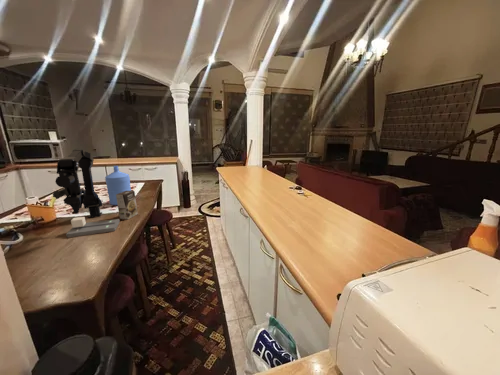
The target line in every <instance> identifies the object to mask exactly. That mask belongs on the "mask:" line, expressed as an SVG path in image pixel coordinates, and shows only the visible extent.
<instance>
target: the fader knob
mask: <svg viewBox="0 0 500 375" xmlns="http://www.w3.org/2000/svg"><path fill="white" fill-rule="evenodd" d="M70 223H71V229H72V228H73V227H78V228H79V227H81V226H84V225H85V224H86V223H87V222H86V217H85V216H79V217H73V218H72V219H71V220H70Z"/></svg>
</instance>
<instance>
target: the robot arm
mask: <svg viewBox="0 0 500 375" xmlns="http://www.w3.org/2000/svg"><path fill="white" fill-rule="evenodd" d="M93 165H94V155H93V154H91V152H87V151H86V150H85V149H82V148H80V149H78V148H77V149H73V150H72V151H71V153H69V155H68V156H67V157H62V158H60V159H59V160H58V161H57V163H56V166H57V167H56V174H57V175H58V176H57V177H56V179H55V184H56V185H57V186H58V187H60V188H61V189H59V190H58V189H57V190H54V191H53V193H52V197H53V198H55V199H56V200H58V199H60V198H62V197H65V198H64V199H63V203H64V204H65V205H68V206H70V207H71V209H72V211H73V212H74V213H75V214H76V215H77V214H79V212H80V209H82V207H83V208H84V209H87V210H88V213H89V215H88V217H87V218H89V219H91V218H97V217H101V216H102V214H103V212H102V211H101V210H100V208H101V207H102V206H103V201H102V200H101V199H100V197H99V195H98V193H96V191H95V187H94V180H93V174H92V173H93V172H92V167H93ZM79 168H80V169H81V174H82V180H83V185H84V188H81V186H82V183H80V180H79V175H78V171H79Z"/></svg>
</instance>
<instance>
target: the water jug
mask: <svg viewBox="0 0 500 375" xmlns="http://www.w3.org/2000/svg"><path fill="white" fill-rule="evenodd" d="M104 178H105V183H106V188H107V194H108V198H109V199H108V200H109V204H110V205H111V206H118V204H117V198H116V194H119V193H121V192H124V191H132V189H131V181H130V180H131V178H130V174H128V173H126V172H122V171H120V170H119V165H113V172H111V173H109V174H108V175H105V177H104Z"/></svg>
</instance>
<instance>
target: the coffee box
mask: <svg viewBox="0 0 500 375" xmlns="http://www.w3.org/2000/svg"><path fill="white" fill-rule="evenodd" d="M116 198H117V204H118V205H117V211H118V216H119V220H120V219H121V220H129V219H131V218H133V217H134V216H135V217H136V216H137V215H138V207H137V206H138V205H137V199H136V193H135V190H131V191H124V192H121V193H119V194H116Z"/></svg>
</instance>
